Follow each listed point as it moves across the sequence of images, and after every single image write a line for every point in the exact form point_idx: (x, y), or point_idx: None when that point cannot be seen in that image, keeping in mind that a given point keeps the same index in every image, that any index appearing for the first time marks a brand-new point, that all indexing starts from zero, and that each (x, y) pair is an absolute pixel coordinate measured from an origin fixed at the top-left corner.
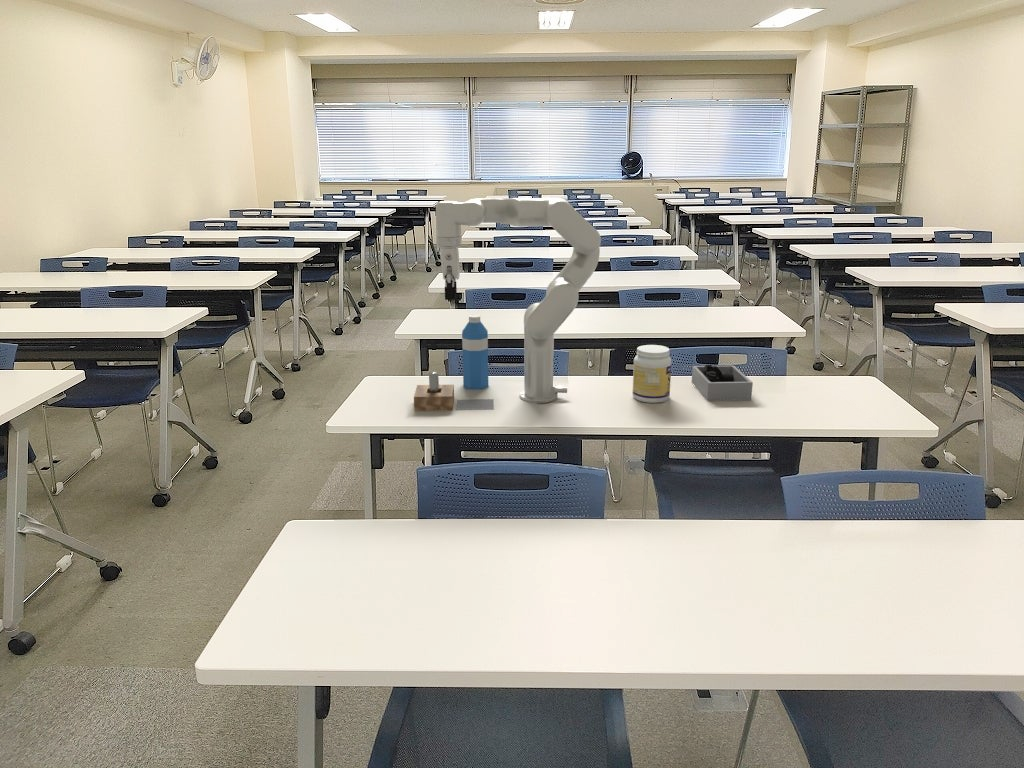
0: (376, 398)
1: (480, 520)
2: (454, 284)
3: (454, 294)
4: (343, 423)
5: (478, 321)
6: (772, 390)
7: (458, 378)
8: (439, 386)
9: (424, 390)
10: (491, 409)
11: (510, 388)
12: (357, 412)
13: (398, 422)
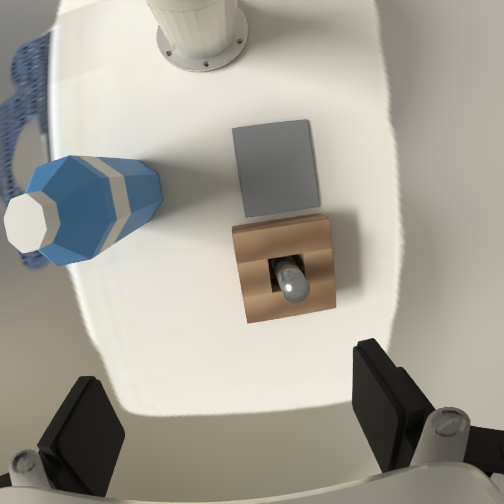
0: (248, 384)
1: None
2: (74, 440)
3: (390, 365)
4: None
5: (46, 197)
6: None
7: None
8: (253, 267)
9: None
10: (307, 124)
11: (137, 105)
12: (328, 387)
13: (381, 306)
